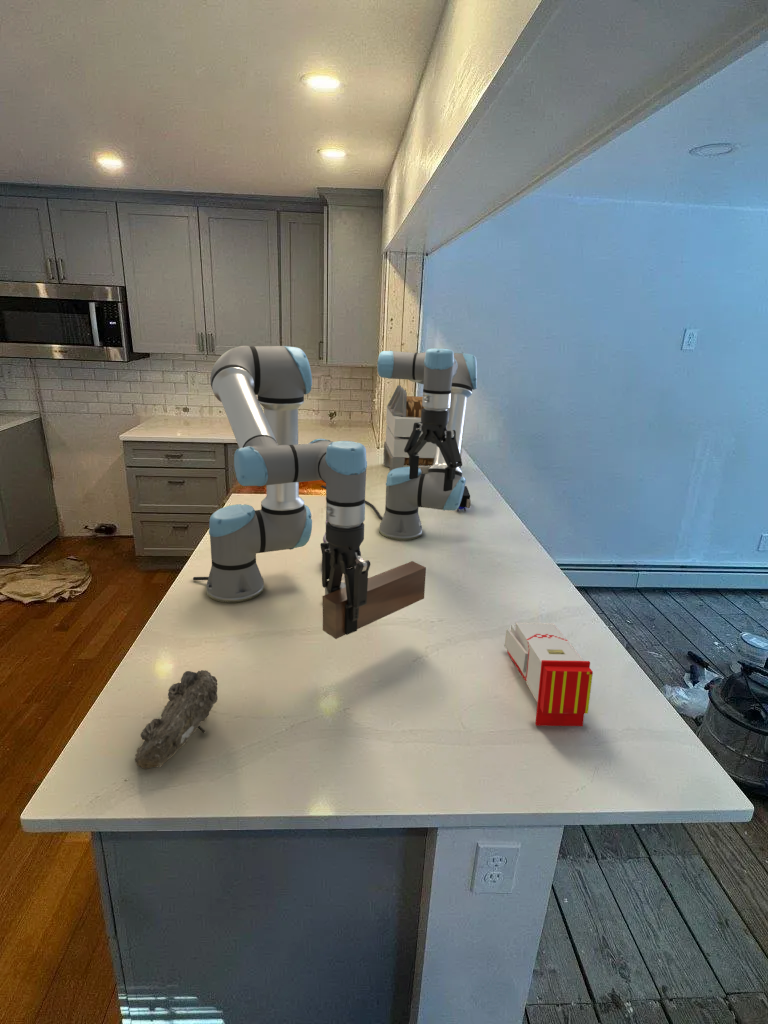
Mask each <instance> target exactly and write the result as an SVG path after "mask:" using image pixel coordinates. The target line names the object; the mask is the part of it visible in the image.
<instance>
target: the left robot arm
mask: <svg viewBox="0 0 768 1024" xmlns="http://www.w3.org/2000/svg"><path fill="white" fill-rule="evenodd" d="M311 369H312V368H311V364H310V362H309V359H308V357H307V355H306V353H305V351H304V350H303V349H301V348H300V347H297V346H288V345H240V346H235V347H233V348H230V349H229V350H227V351H226V352H224V353H222V354H221V355H220V356H219V357H218V359H216V361H215V363H214V364H213V366H212V369H211V371H210V378H209V379H210V388H211V390H212V393H213V395H214V397H215V398H216V399H217V400H218V401H219V402H220V403H221V404H222V406H223V407H222V408H223V409H224V412H225V415H226V417H227V420H228V422H229V424H230V427H231V430H232V432H233V433H232V434H233V436H234V438H235V441H236V443H237V445H238V446H237V447H238V448H236V450H235V451H234V455H233V465H234V472H235V478H236V480H237V483H238V484H239V485H240V486H242V487H264V486H266V487H265V488H266V490H265V491H266V497H264V498H263V499H262V500H261V501H260V509H255V508H254V507H253V506H252V505H250V504H242V503H238V504H231V505H226V506H224V507H221V508H219V509H217V510H216V511H214V512H213V513H212V514H211V515H210V517H209V521H208V522H209V526H208V527H209V528H208V535H209V543H210V558H211V568H210V571H209V574H208V576H193V578H192V580H193V581H206V587H205V588H206V595H207V596H208V598H210V599H212V600H213V601H215V602H216V601H217V602H221V603H227V604H229V603H230V604H234V603H241V602H246V601H247V602H248V601H251V600H253V599H255V598H257V597H258V596H259V595H261V594H262V593H263V592H264V589H265V588H264V587H265V586H264V585H265V581H264V580H265V579H264V578H263V575H262V573H261V571H260V568H259V566H258V564H257V554H261V553H270V552H277V551H278V552H279V551H286V550H290V551H291V550H294V549H297V548H302V547H304V546H306V545H307V544H308V542H309V541H310V538H311V536H312V530H313V529H312V528H313V519H312V511H311V509H310V507H309V506H308V505H306V504H305V500H304V499H303V498H302V497H300V495H299V494H300V488H299V487H300V484H299V483H304V482H315V481H316V482H317V481H322V482H324V483H325V487H326V489H325V501H326V503H325V521H326V520H327V521H328V522H327V523H326V522H325V532H326V540H327V542H320V551H321V560H322V561H321V587H323V588H324V589H325V587H326V588H327V592H328V593H332V592H334V591H337V590H339V589H341V588H342V587H341V582H343V581H342V580H343V576H344V583H345V585H346V593H347V601H348V604H346V605H345V632H344V633H345V634H346V635H345V636H348V635H350V634H353V633H355V632H357V631H358V629H357V619H358V618H359V607H361V606H363V605H366V604H367V585H368V578H369V571H370V567H371V561H370V560H368V559H367V560H365V559H364V558H363V557H362V552H361V548H360V547H361V544H362V543H363V542H364V540H365V523H364V522H365V520H366V503H365V501H366V485H367V482H366V481H367V468H368V461H367V449H366V446H365V445H364V444H362V442H361V443H360V442H355V441H352V440H337V441H331V440H330V439H326V438H316V439H313V440H311V441H310V442H308V443H299V408H300V407H301V406H302V405H303V404H304V403H305V395H308V394H310V393H311V391H312V386H313V376H312V370H311Z"/></svg>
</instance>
